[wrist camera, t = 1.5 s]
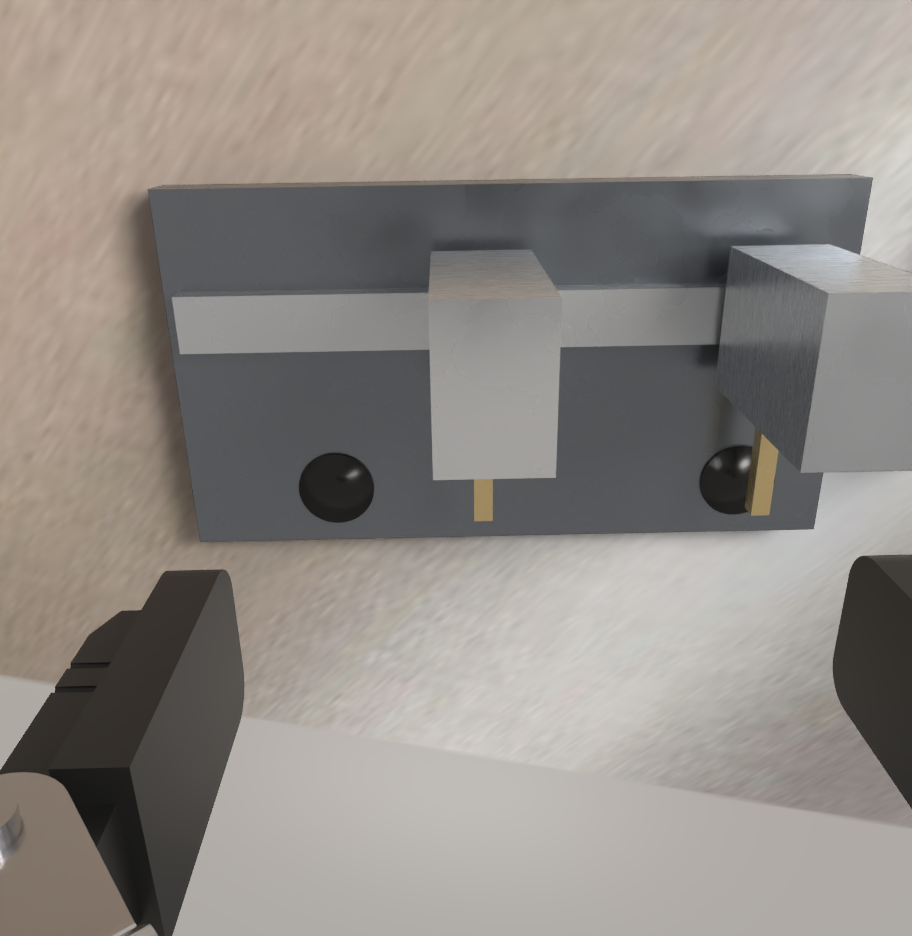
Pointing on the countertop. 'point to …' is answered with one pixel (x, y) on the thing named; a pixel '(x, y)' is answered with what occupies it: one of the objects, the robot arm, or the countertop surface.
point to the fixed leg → (817, 361)
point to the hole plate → (408, 357)
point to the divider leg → (493, 369)
